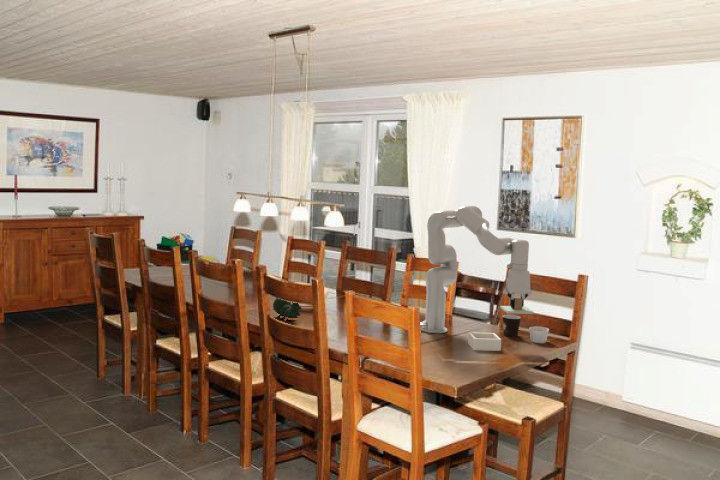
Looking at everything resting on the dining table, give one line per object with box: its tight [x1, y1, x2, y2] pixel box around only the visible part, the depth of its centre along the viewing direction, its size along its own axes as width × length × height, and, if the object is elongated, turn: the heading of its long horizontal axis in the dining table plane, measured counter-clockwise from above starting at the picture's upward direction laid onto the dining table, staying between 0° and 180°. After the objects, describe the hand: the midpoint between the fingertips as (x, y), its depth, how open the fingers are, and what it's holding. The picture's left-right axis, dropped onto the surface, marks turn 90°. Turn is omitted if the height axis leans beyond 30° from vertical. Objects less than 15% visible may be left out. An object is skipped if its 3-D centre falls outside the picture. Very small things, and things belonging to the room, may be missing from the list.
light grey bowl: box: [529, 325, 550, 344], centre depth 323 cm, size 9×9×6 cm
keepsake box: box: [467, 331, 502, 352], centre depth 306 cm, size 12×12×6 cm
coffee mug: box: [502, 314, 521, 338], centre depth 331 cm, size 12×9×10 cm
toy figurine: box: [272, 297, 302, 318], centre depth 350 cm, size 9×19×25 cm
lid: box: [499, 295, 534, 315], centre depth 306 cm, size 12×12×6 cm
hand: (516, 307), depth 306 cm, fingers closed on lid, 3 cm apart
